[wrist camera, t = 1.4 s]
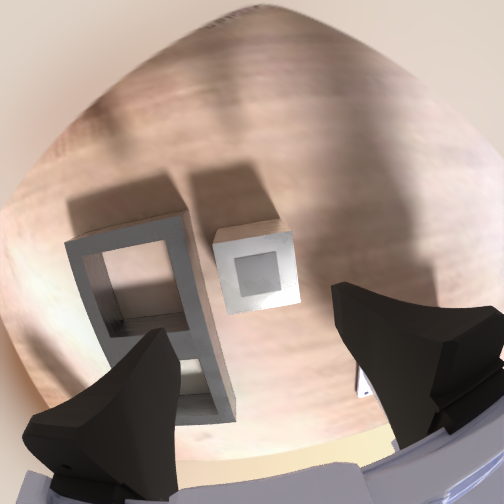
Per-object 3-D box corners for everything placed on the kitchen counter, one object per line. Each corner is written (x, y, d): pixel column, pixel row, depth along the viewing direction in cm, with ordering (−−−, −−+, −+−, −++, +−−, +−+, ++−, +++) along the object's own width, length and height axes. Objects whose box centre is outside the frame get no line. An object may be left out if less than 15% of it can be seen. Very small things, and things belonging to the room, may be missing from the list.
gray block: (280, 218, 20) (291, 230, 16) (288, 276, 21) (300, 302, 17) (217, 228, 20) (211, 244, 16) (229, 286, 21) (227, 315, 17)
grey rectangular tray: (188, 209, 20) (180, 215, 17) (235, 399, 24) (236, 421, 22) (83, 233, 19) (64, 242, 17) (150, 404, 24) (143, 425, 22)
